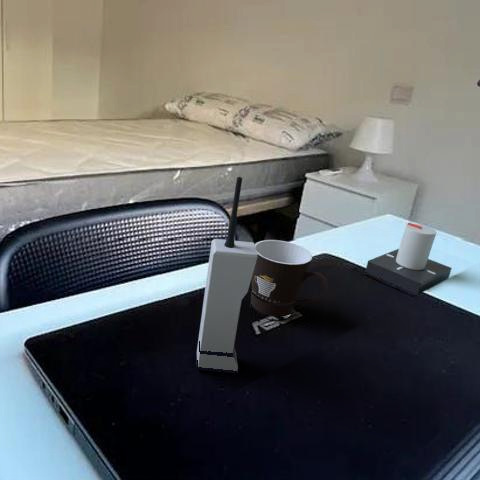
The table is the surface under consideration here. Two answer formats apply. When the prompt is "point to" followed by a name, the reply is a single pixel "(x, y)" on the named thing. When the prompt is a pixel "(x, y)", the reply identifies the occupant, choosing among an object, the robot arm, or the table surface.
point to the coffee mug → (281, 276)
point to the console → (408, 273)
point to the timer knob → (415, 246)
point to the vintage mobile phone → (225, 294)
